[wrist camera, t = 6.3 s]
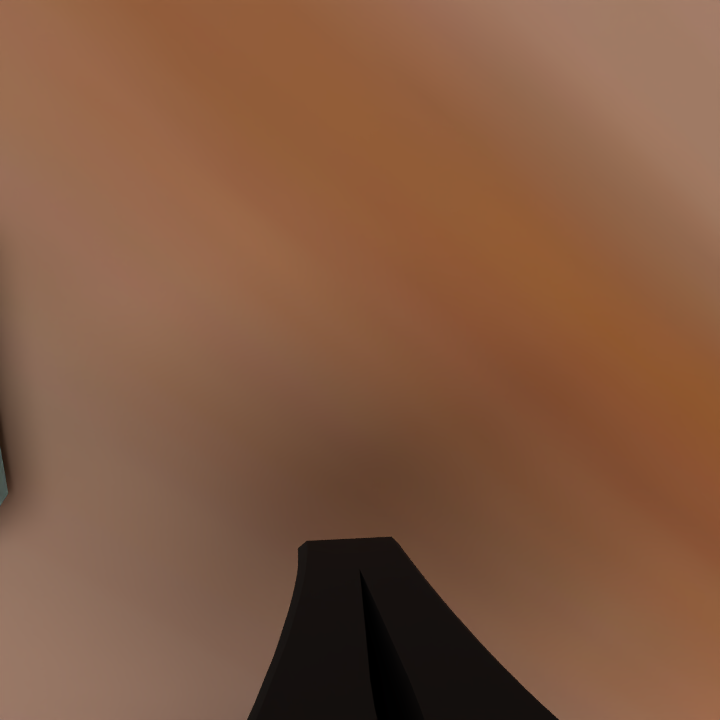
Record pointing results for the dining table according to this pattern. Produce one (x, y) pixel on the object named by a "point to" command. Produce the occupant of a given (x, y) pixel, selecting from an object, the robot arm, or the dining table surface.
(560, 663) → the dining table surface
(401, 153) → the dining table surface
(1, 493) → the slab
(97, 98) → the dining table surface
